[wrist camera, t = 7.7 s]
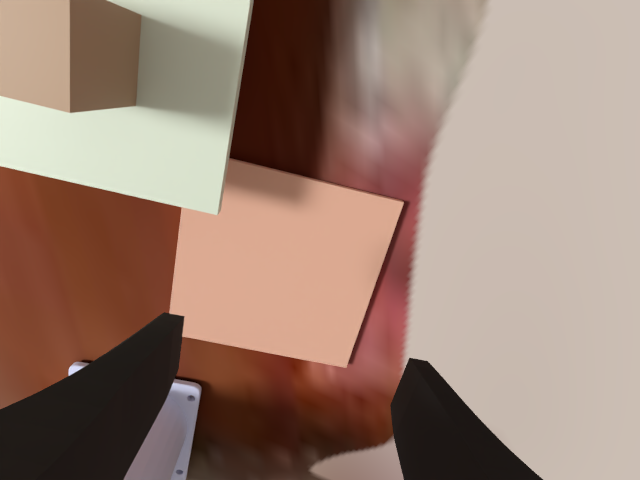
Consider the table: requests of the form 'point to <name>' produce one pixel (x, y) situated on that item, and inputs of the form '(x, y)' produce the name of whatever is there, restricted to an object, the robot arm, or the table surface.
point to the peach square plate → (282, 264)
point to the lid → (124, 94)
